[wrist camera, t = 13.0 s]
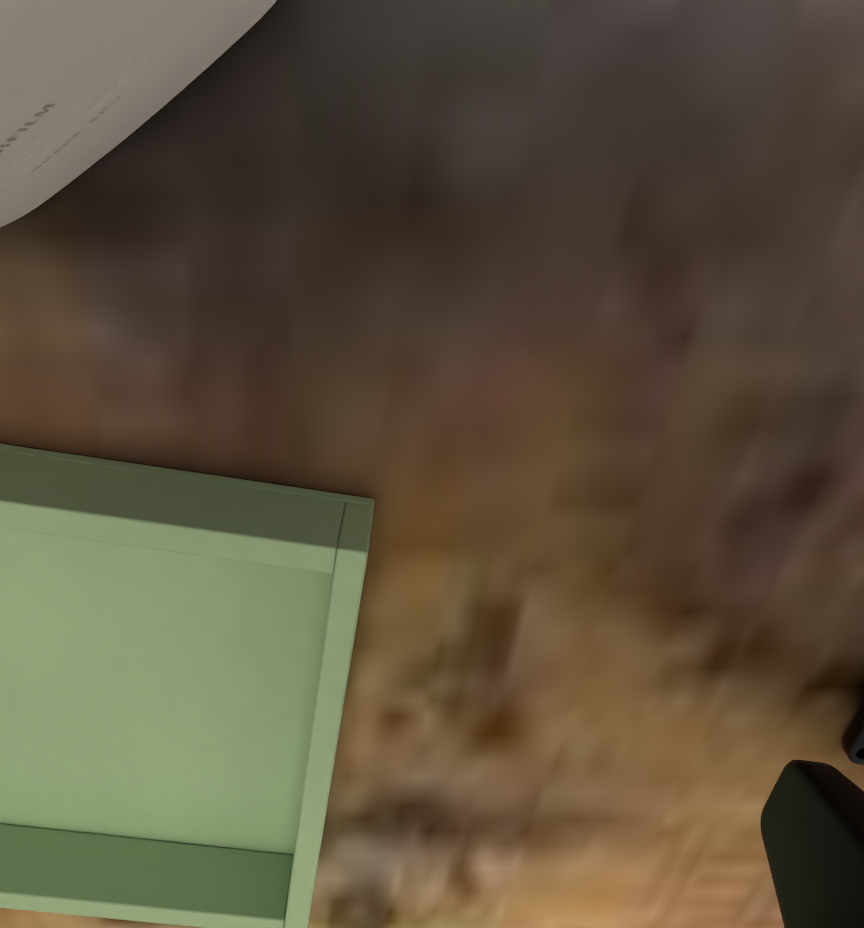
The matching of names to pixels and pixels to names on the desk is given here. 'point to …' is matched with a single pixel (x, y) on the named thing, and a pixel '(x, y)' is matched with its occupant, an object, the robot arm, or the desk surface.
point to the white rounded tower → (95, 79)
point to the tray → (169, 688)
